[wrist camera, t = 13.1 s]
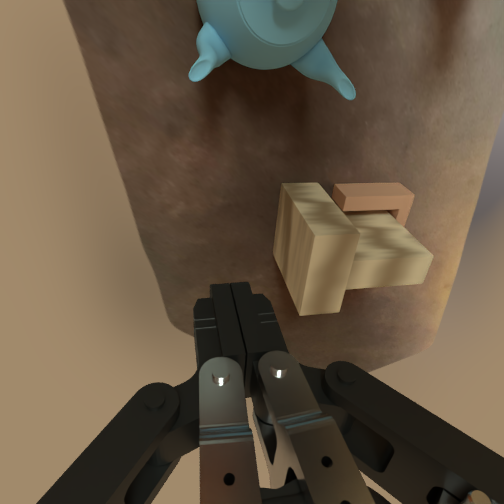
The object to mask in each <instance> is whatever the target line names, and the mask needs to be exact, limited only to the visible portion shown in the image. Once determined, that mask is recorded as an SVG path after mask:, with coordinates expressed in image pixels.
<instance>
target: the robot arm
mask: <svg viewBox="0 0 504 504" xmlns="http://www.w3.org/2000/svg"><path fill="white" fill-rule="evenodd" d="M193 313H194V339H195V350H196V361H197V371H196V373H195V374H194V375H193V376H192V377H191V378H190V379H189V380H187V381H186V382H184V383H182V384H180V385H177V386H175V387H172V386H170V385H169V384H166V383H159V382H158V383H151V384H148V385H146V386H144V387H142V388H141V389H140V390H138V391H137V393H136V394H135V395H134V396H133V397H132V398H131V399H130V400H129V401H128V402H127V404H126V405H125V406H124V407H123V408H122V409H121V410H120V412H118V414H117V415H116V416H115V417H114V418H113V419H112V420H111V421H110V422H109V424H108V425H107V426H106V427H105V428H104V429H103V430H102V431H101V433H100V434H99V435H98V436H97V437H96V438H95V439H94V440H93V441H92V442H91V444H90V445H89V446H88V447H87V448H86V449H85V450H84V451H83V452H82V453H81V455H80V456H79V457H78V458H77V459H76V460H75V461H74V462H73V464H72V465H71V466H70V467H69V468H68V469H67V470H66V471H65V472H64V473H63V475H62V476H61V477H60V478H59V479H58V480H57V481H56V482H55V484H54V485H53V486H52V487H51V488H50V489H49V490H48V491H47V492H46V494H45V495H44V496H43V497H42V498H41V499H40V500H39V501H38V502H37V503H36V504H151V503H152V501H153V500H154V498H155V497H156V495H157V494H158V492H159V491H160V489H161V488H162V486H163V485H164V483H165V482H166V480H167V479H168V477H169V476H170V474H171V473H172V471H173V470H174V468H175V467H176V465H177V464H178V462H179V460H180V458H181V456H183V455H185V454H187V453H189V452H191V451H192V450H194V449H196V448H198V447H200V504H391V503H390V502H389V501H387V500H386V499H385V498H384V497H383V496H381V495H380V494H379V493H377V492H376V491H374V490H373V489H371V488H370V487H368V486H366V483H365V481H364V479H363V477H362V476H361V473H360V471H361V472H363V473H364V474H365V475H366V476H368V477H369V478H370V479H372V480H373V481H374V482H375V483H377V484H378V485H379V486H381V487H382V488H383V489H384V490H386V491H387V492H388V493H389V494H391V495H392V496H393V497H395V498H396V499H397V500H398V501H400V502H401V503H402V504H504V458H503V457H502V456H500V455H499V454H497V453H495V452H494V451H492V450H490V449H489V448H487V447H486V446H484V445H483V444H481V443H479V442H478V441H476V440H474V439H473V438H471V437H470V436H468V435H466V434H465V433H463V432H462V431H460V430H458V429H457V428H455V427H454V426H452V425H450V424H449V423H447V422H446V421H444V420H442V419H441V418H439V417H438V416H436V415H434V414H432V413H431V412H429V411H428V410H426V409H425V408H423V407H422V406H420V405H418V404H417V403H415V402H413V401H412V400H410V399H409V398H407V397H405V396H404V395H402V394H401V393H399V392H397V391H396V390H394V389H393V388H391V387H389V386H388V385H386V384H385V383H383V382H381V381H380V380H378V379H377V378H375V377H373V376H372V375H370V374H369V373H367V372H365V371H364V370H362V369H361V368H359V367H357V366H356V365H354V364H352V363H349V362H345V361H337V362H333V363H331V364H330V365H328V367H327V368H326V370H324V369H318V368H312V367H307V366H304V365H302V364H300V363H298V361H297V360H296V359H295V358H294V357H293V356H292V355H290V354H289V352H288V350H287V347H286V344H285V341H284V338H283V336H282V333H281V330H280V327H279V324H278V322H277V319H276V316H275V314H274V310H273V307H272V305H271V302H270V301H269V300H268V299H267V298H266V297H265V296H264V295H263V294H252V291H251V288H250V284H249V282H237V283H230V284H229V283H225V284H211V285H210V298H201V299H198V300H197V302H196V304H195V306H194V308H193ZM249 397H251V398H252V402H253V406H254V408H253V420H254V424H255V427H256V430H257V434H258V437H259V440H260V444H261V447H262V450H263V453H264V457H265V460H266V463H267V467H268V471H269V476H270V487H271V489H269V488H260V486H259V479H258V471H257V464H256V455H255V447H254V440H253V434H252V430H251V429H250V428H249V423H248V416H247V407H246V399H245V398H249ZM359 470H360V471H359Z"/></svg>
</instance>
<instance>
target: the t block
mask: <svg viewBox="0 0 504 504" xmlns="http://www.w3.org/2000/svg"><path fill="white" fill-rule="evenodd" d="M273 255H274V257H275V260H276V262H277V264H278V267H279V269H280V271H281V274H282V276H283V278H284V281H285V283H286V285H287V288H288V290H289V292H290V295H291V297H292V299H293V302H294V304H295V306H296V309H297V311H298V313H299V316H303V315H314V314H325V313H336V312H339V311H340V308H341V304H342V300H343V297H344V293H345V290H347V289H360V288H372V287H385V286H398V285H411V284H423V281H424V279H425V276H426V274H427V272H428V269H429V267H430V264H431V262H432V260H433V257H434V256H433V255H432V254H431V253H430V252H429V251H428V250H427V249H426V248H425V247H424V246H423V245H422V244H421V243H420V242H419V241H418V240H417V239H415V238H414V237H413V236H412V235H411V234H410V233H409V232H408V231H407V230H406V229H405V228H404V227H403V226H402V225H401V224H400V223H399V222H398V221H397V220H396V219H395V218H394V217H393V216H392V215H391V214H389V213H388V212H387V211H386V210H363V211H342V209H341V208H340V207H339V206H337V205H336V204H335V202H334V201H333V200H332V199H331V198H330V196H329V195H328V194H327V193H326V192H325V190H324V189H323V188H322V187H321V186H320V184H319V183H281V191H280V199H279V207H278V215H277V224H276V232H275V240H274V248H273Z"/></svg>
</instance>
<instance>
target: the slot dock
mask: <svg viewBox="0 0 504 504" xmlns="http://www.w3.org/2000/svg"><path fill="white" fill-rule="evenodd" d="M414 196H415V195H414V194H413V193H412V192H410V191H409V190H408V189H407V188H405V187H404V186H403V185H402V184H400V183H349V184H334V188H333V193H332V199H333V200H334V201H335V202H336V203H337V205H338V206H339V207H340V208H341V209H342V211H363V210H386V211H387V212H388V213H389V214H391V215H392V216H393V217H394V218H395V219H396V220H397V221H398V222H399V223H400V224H401V225H402V226H403V227H404V226H405V223H406V220H407V217H408V214H409V211H410V208H411V205H412V202H413V199H414Z"/></svg>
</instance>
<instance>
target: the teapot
mask: <svg viewBox="0 0 504 504" xmlns="http://www.w3.org/2000/svg"><path fill="white" fill-rule="evenodd" d="M197 5H198V10H199V13H200V16H201V19H202V22H203V24H204V25H203V27H202V28H201V30H200V32H199V33H198V36H197V40H196V46H197V50H198V53H199V55H200V57H199V58H198V60H197V61H196V62H195V63H194V65H193V66H192V68H191V70H190V72H189V79H190V80H191V81H193V82H197V81H200V80H202V79H203V78H205V77H206V76H207V75H208V74H209V73H210V72H211V71H212V70H213V69H214V68H216V67H219V66H220V65H222V64H223V63H224V62H226V61H227V60H229V59H230V58H231V59H232V60H234V61H236V62H237V63H239V64H241V65H244V66H246V67H249V68H254V69H261V70H268V69H277V68H280V67H284V66H287V65H289V64H290V65H292V66H293V67H294V68H295V69H297V70H298V71H299V72H300V73H302V74H303V75H305V76H306V77H308V78H311V79H314V80H318V81H322V82H325V83H328V84H329V85H331V86H332V87H334V88H335V89H336V90H337V91H338V92H339V93H340V94H341V95H342V96H343V97H344V98H346V99H348V100H353V99H354V98H355V96H356V92H355V89H354V86H353V84H352V83H351V81H350V80H349V79H348V78H347V76H346V75H345V74H344V73H343V72H342V70H341V69H340V68H339V66H338V65H337V63H336V61H335V60H334V58H333V56H332V54H331V53H330V51H329V49H328V48H327V46H326V45H325V43H324V41H323V39H322V36H323V35H324V33H325V32H326V30H327V28H328V26H329V24H330V22H331V20H332V17H333V14H334V12H335V8H336V5H337V0H197Z"/></svg>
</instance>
